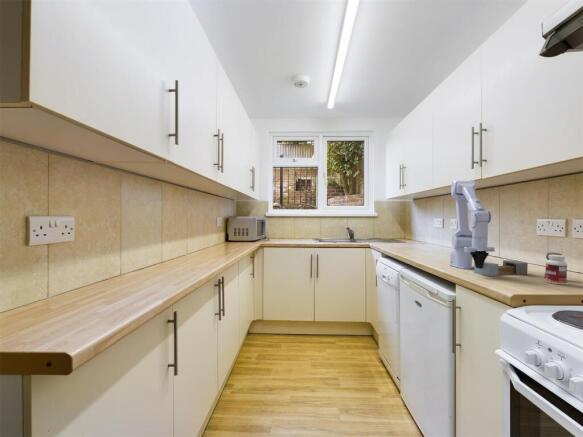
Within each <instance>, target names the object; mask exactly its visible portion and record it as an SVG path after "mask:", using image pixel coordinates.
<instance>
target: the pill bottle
mask: <svg viewBox="0 0 583 437" xmlns="http://www.w3.org/2000/svg"><path fill="white" fill-rule="evenodd" d="M548 258H549V260H547V259H546V261H545V271H544V276H545V278H544V282H545V283H547V282H548V284H551V283H552V285H557V284H561V285H560V286H564V285H567V278H568V276H567V275H568V262H566V261H565V259H566V256H565V255H563V254H562V255H549V257H548Z"/></svg>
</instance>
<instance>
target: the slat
mask: <svg viewBox="0 0 583 437" xmlns="http://www.w3.org/2000/svg"><path fill="white" fill-rule="evenodd" d="M499 275H500V276H501V275H502V276H503V275H517V274H516V267H514V266H503V265H498V276H499Z"/></svg>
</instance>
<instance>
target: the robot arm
mask: <svg viewBox="0 0 583 437" xmlns="http://www.w3.org/2000/svg"><path fill="white" fill-rule="evenodd" d="M476 189H477V182H476V181H475V180H474V179H473V180H456V179H455V180H453V181H452V183H451V186H450V192H451V193H450V194H451V198H453V199H454V202H455V210H456V212H455V213H456V221H457V222H456V223H457V230H456V231H455V232H453V233H452V235H451V237H452V239H451V246H452V248H453V249H451V251H450V255H449V257H450V260H449V263H450V264H448V266H450V267H454V268H455V267H456V268H459V269H465V270H468V269H474V265H473V262H475V266H476V268H479V269H481V268H482V267H483V264H484V261H485V262H486V260H487V258H488V256H489V255H490V252H491V253H493V252H496V251H495V249H496V248H495V247H493V246H488V240H489V239H488V236H489V234H488V233H489V224H490V222H491V221H492V214H491V211H490V210H489V209H487V208H485V206H484V204H483V202H482V201H481V199H479V198H477V195H476ZM467 201H468V202H467ZM468 210H469V213H470V216H469V213H468ZM469 220H470V224H469ZM470 225H471V229H472V230H470Z"/></svg>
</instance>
